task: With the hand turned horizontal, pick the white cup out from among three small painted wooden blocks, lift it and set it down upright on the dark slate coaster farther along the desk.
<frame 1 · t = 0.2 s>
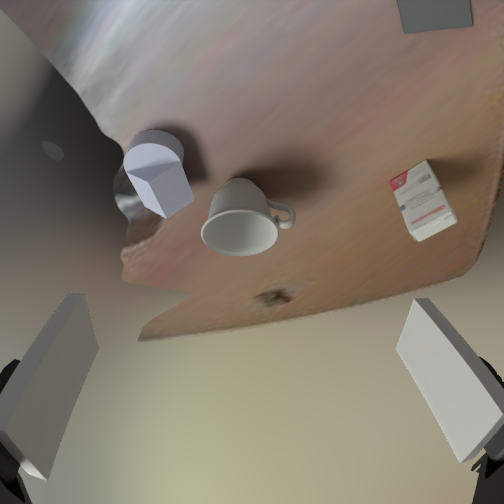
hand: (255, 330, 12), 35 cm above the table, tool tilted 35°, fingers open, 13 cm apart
teacup: (247, 186, 54), on the table
ink box: (411, 175, 52), on the table
wedge on round base: (160, 160, 48), on the table
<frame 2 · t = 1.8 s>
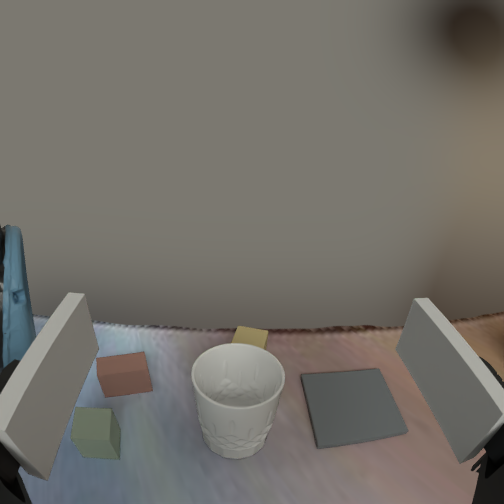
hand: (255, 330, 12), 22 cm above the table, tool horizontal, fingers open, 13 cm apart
brick-red long block: (127, 386, 34), on the table
mustard block: (248, 360, 40), on the table
slate coaster: (352, 406, 33), on the table
sage block: (102, 443, 26), on the table
white cup: (234, 434, 29), on the table
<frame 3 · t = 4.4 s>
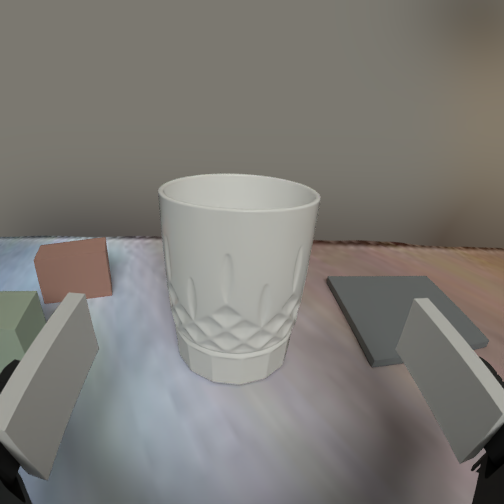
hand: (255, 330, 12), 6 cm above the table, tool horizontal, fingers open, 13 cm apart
brick-red long block: (78, 291, 24), on the table
slate coaster: (405, 314, 23), on the table
sage block: (21, 359, 15), on the table
white cup: (232, 349, 19), on the table
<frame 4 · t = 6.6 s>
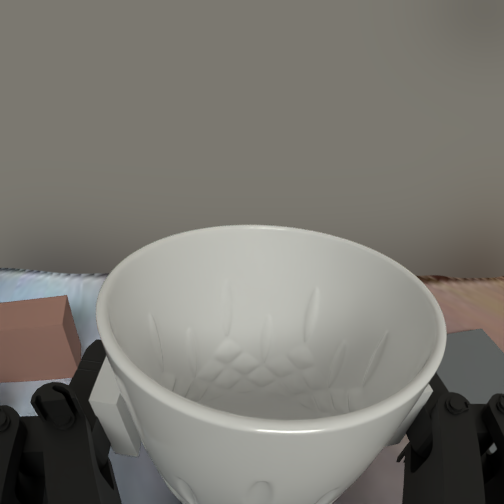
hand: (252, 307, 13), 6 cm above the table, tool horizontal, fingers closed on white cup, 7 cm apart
brick-red long block: (39, 365, 16), on the table
slate coaster: (467, 392, 15), on the table
white cup: (251, 479, 11), on the table, touching gripper
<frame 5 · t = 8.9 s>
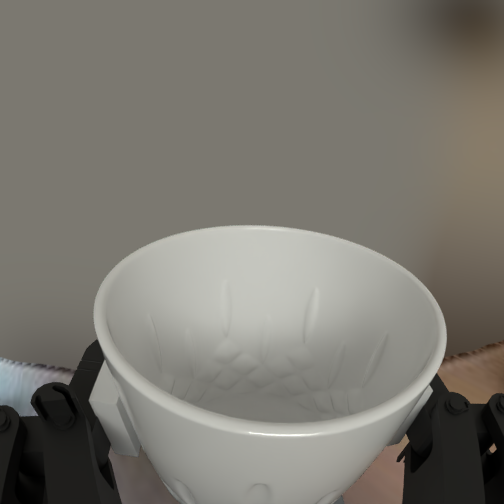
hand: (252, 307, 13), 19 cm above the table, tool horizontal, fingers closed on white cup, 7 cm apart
white cup: (250, 480, 11), point 12 cm above the table, touching gripper
when the fingers open (8 cm above the table, at t = 11.5 s): white cup drops 1 cm, resting on slate coaster.
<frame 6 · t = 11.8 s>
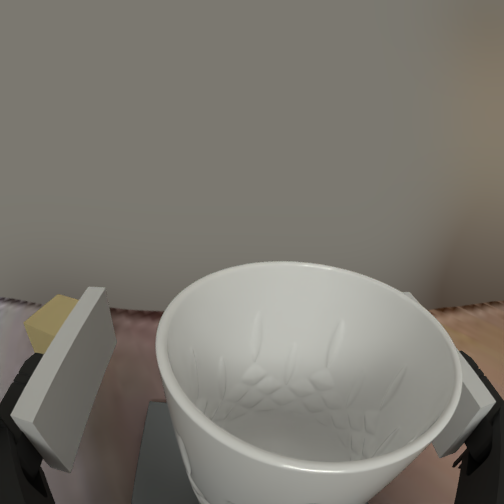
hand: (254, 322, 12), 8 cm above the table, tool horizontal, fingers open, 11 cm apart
mustard block: (75, 359, 19), on the table
slate coaster: (249, 492, 12), on the table
white cup: (269, 490, 12), resting on slate coaster
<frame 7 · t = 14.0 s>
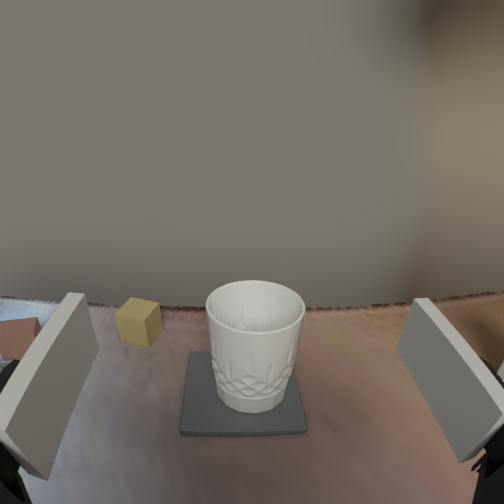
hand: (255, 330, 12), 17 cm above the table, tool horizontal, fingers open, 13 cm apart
brick-red long block: (25, 352, 30), on the table
mustard block: (142, 335, 37), on the table
slate coaster: (241, 391, 29), on the table
white cup: (251, 389, 29), resting on slate coaster
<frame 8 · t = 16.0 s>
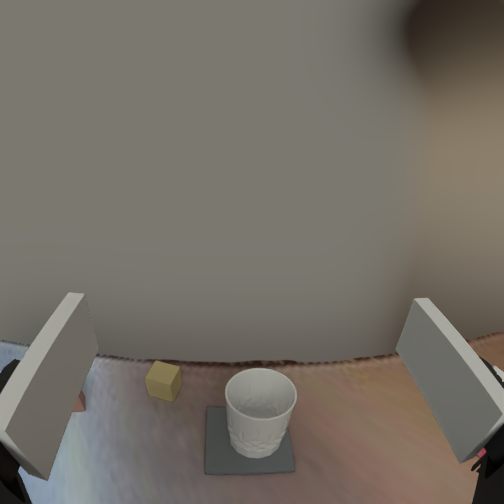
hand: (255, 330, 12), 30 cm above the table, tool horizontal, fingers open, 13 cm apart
brick-red long block: (67, 405, 37), on the table
mustard block: (165, 390, 44), on the table
slate coaster: (247, 440, 36), on the table
white cup: (255, 439, 36), resting on slate coaster
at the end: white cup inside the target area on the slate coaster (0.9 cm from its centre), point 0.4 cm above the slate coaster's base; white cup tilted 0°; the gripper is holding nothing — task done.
